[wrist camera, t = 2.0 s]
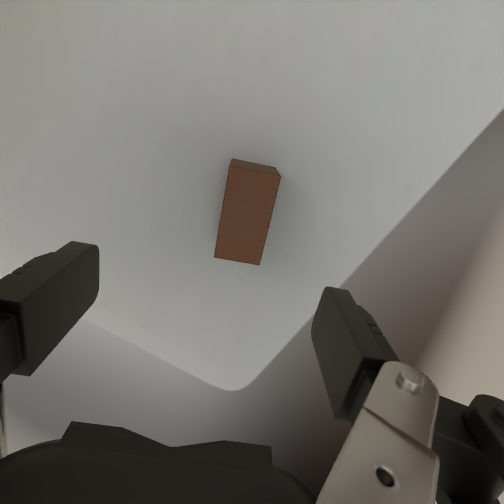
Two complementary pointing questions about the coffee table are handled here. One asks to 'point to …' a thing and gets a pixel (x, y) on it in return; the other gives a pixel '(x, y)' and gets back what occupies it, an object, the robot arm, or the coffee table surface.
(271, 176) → the brown rectangular block
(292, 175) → the coffee table surface
